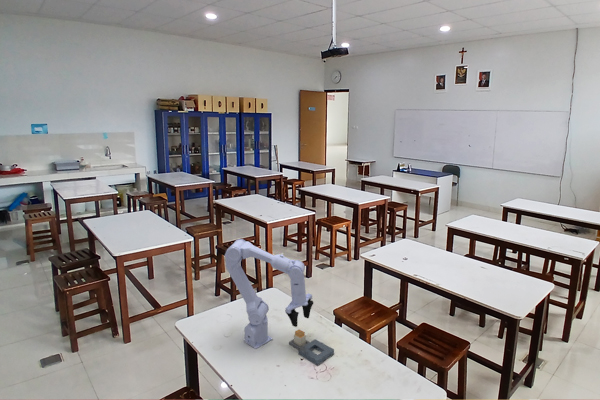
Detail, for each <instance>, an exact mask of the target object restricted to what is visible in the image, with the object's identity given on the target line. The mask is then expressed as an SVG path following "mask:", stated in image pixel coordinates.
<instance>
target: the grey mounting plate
mask: <svg viewBox="0 0 600 400" xmlns="http://www.w3.org/2000/svg"><path fill="white" fill-rule="evenodd" d="M310 342H311V341H309V340H307V339H306V344H305V345H307V344H308V343H310ZM288 345H289V346H291V347H293V348H295V349H296V350H297V351H298V350H299V349H301V348H302V347H304V346H305V345H303V346H302V347H300V346H298V345H297V344H295V343H294V338H292V339H291V340H290V341H289V342H288Z"/></svg>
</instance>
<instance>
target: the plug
mask: <svg viewBox="0 0 600 400" xmlns="http://www.w3.org/2000/svg"><path fill="white" fill-rule="evenodd" d="M293 339H294V343H295V344H297V345H298V346H300V347H302V346H303V345H305V344H306V340H307V335H306V333H305V331H304V330H301V329H297V330H295V331H294V334H293Z"/></svg>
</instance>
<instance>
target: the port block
mask: <svg viewBox="0 0 600 400" xmlns="http://www.w3.org/2000/svg"><path fill="white" fill-rule="evenodd" d="M309 342H310V343H308V344H307V345H305V346H304V347H302V348H301V349H299V350H298V349H297V351H298V355H299V356H300V357H302V358H304V359H305V360H307V361H309V362H311V363H312V364H314V365H316V366H320V365H321V364H322V363H323V362H325V361H326V360H327V359H329V358H330V357H332V356H333V355H334V354H335V349H334V348H332V347H331V346H328V345H327V344H325V343H323V342H321V341H319V340H318V339H313V340H312V341H309ZM314 350H316V351H317V352H319V354H318V353H315V352H313V351H314Z"/></svg>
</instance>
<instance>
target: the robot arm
mask: <svg viewBox="0 0 600 400" xmlns="http://www.w3.org/2000/svg"><path fill="white" fill-rule="evenodd" d="M224 257H225V268H226V270H227V272H228V273H229V275H230V277H231V279H232V281H233V282H234V284H235V286H236V288H237V291H239V293H240V295H241V297H242V299H243V300H244V302H245V304H246V309H245V310H246V313H247V316H248V322H249V323H248V324H247V325H245V327H244V331H243V332H244V339H243V342H244V343H246V344H247V345H249V346H250V347H252V348H254V349H255V350H257V349H258V348H260V347H261V346H263V345H265V344H267V343H268V342H270V341H272V340H273V337H271V336H270V335H269V325H268V324H269V323H268V322H269V321H268V317H267V313H268V312H269V309H270V308H269V304H268V303H266V302H265V301H264V300H263V298H262V297H260V296H258V295H257V293H256V292H255V289H254V287H253V285H252V283H251V282H250V280H249V279H248V276H247V275H246V273H245V271H244V269H243V268H242V267H243V266H241V262H242V260H245V259H248V258H255V259H257V260H260V261H264V262H265V263H269V264H270V266H271V268H273V269H275V270H278V272H279V271H280V272H282V273H284V274H287V275H288V277H289V278H290V292H291V293H290V294H291V301H290V303H289V304H288V305H287V306H286V307H285V314H286V315H287V316H288V318H289V320H290V322H291V326H293V327H294V328H297V327H298V318H299V314H300V313H299V312H298V311H297V310H296V309H297V308H301V307H302V313H303V317H304V318H306V319H309V318H310V314H311V310H312V308H313V305H314V301H313V294H311V293H307V294H306V292H307V291H306V280H305V273H304V272H305V268H306V266H305V264H304V262H303V261H302V260H300V259H296V260H295V259H290V258H288V257H286V256H285V255H284V254H282V253H280V254H279V253H278V254H272V253H270V252H268V251H265V250H264V249H262V248H260V247H257V246H256V245H253V243H251V242H250V241H246V240H245V239H243V238H238V239H236V240H235V241H234V242H233V243H232V244H231V245H230V246H229V247H228V248H227V249H226V250H225V253H224Z"/></svg>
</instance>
